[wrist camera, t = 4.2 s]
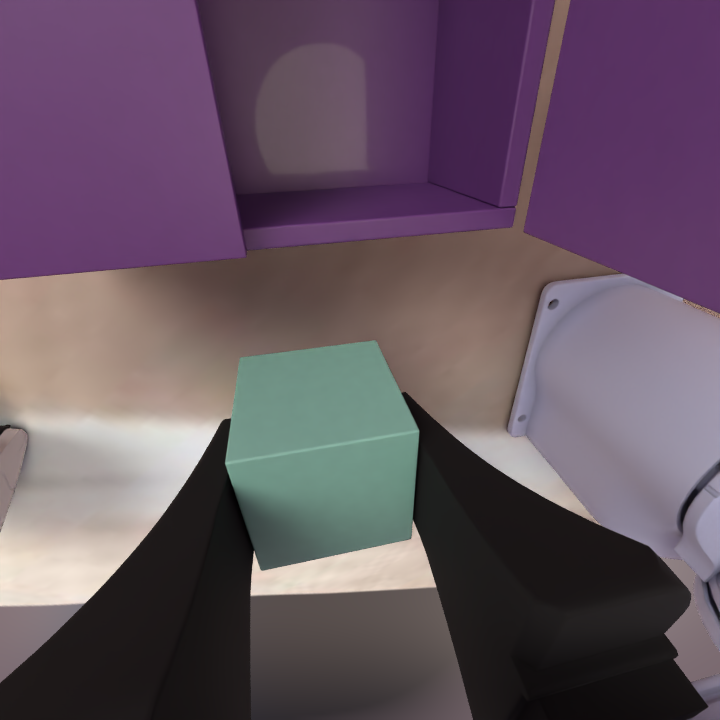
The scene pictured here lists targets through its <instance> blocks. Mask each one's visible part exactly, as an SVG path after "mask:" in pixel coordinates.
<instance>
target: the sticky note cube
mask: <svg viewBox="0 0 720 720" xmlns="http://www.w3.org/2000/svg"><path fill="white" fill-rule="evenodd" d="M418 444H419V429H418V427H417V425H416V422H415V420H414V418H413V416H412V414H411V412H410V410H409V408H408V406H407V404H406V402H405V400H404V397H403V395H402V393H401V391H400V389H399V387H398V385H397V383H396V381H395V379H394V377H393V375H392V372H391V370H390V368H389V366H388V364H387V362H386V360H385V358H384V356H383V354H382V352H381V350H380V348H379V345H378V343H377V341H376V340H373V341H365V342H357V343H350V344H342V345H334V346H326V347H318V348H311V349H303V350H295V351H287V352H279V353H271V354H264V355H256V356H248V357H241V358H240V360H239V367H238V374H237V382H236V389H235V396H234V403H233V410H232V417H231V425H230V432H229V439H228V446H227V453H226V460H225V465H226V468H227V471H228V474H229V477H230V480H231V483H232V486H233V489H234V492H235V495H236V498H237V501H238V504H239V507H240V510H241V513H242V516H243V519H244V522H245V525H246V528H247V531H248V534H249V537H250V539H251V542H252V545H253V548H254V551H255V554H256V557H257V560H258V563H259V566H260V569H261V570H262V571H263V570H268V569H273V568H277V567H282V566H287V565H291V564H296V563H301V562H306V561H310V560H315V559H320V558H324V557H329V556H334V555H338V554H343V553H348V552H353V551H357V550H362V549H367V548H371V547H376V546H381V545H385V544H390V543H395V542H399V541H404V540H409V539H411V536H412V523H413V510H414V497H415V483H416V470H417V457H418Z"/></svg>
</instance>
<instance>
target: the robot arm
mask: <svg viewBox="0 0 720 720" xmlns="http://www.w3.org/2000/svg"><path fill="white" fill-rule="evenodd" d="M552 300H553V302H552V304H550V305H549V303H550V302H551V301H552ZM682 301H683V298H681V297H679V296H676V295H674V294H671V293H669V292H667V291H664V290H662V289H659V288H657V287H655V286H652V285H650V284H647V283H645V282H642V281H640V280H638V279H635V278H633V277H630V276H628V275H626V274H615V275H606V276H597V277H588V278H580V279H571V280H562V281H554V282H551V283H549V284H547V285H546V286H545V287H544V289H543V291H542V293H541V297H540V301H539V305H538V309H537V313H536V317H535V321H534V325H533V329H532V333H531V337H530V341H529V345H528V349H527V353H526V357H525V361H524V365H523V369H522V372H521V376H520V380H519V384H518V388H517V392H516V396H515V400H514V404H513V408H512V412H511V416H510V420H509V424H508V428H507V431H508V433H509V434H510V435H511V436H512V437H520V436H525V435H526V436H527V438H528V439H529V440H530V441H531V442H532V444H533V445H534V446H535V447H536V448H537V450H538V451H539V452H540V453H541V455H542V456H543V457H544V458H545V459H546V461H547V462H548V463H549V464H550V466H551V467H552V468H553V469H554V470H555V472H556V473H557V474H558V475H559V476H560V478H561V479H562V480H563V481H564V483H565V484H566V485H567V486H568V487H569V489H570V490H571V491H572V492H573V494H574V495H575V496H576V497H577V498H578V500H579V501H580V502H581V503H582V504H583V506H584V507H585V508H586V509H587V511H588V512H589V513H590V514H591V515H592V516H593V517H594V518H595V519H596V520H597V521H598V522H599V523H600V524H601V525H602V526H600V525H598V524H596V523H594V522H592V521H589V520H587V519H585V518H583V517H581V516H579V515H577V514H575V513H573V512H571V511H569V510H567V509H565V508H563V507H561V506H559V505H557V504H555V503H553V502H551V501H549V500H548V499H546V498H544V497H542V496H540V495H539V494H537V493H535V492H533V491H532V490H530V489H528V488H526V487H525V486H523V485H521V484H520V483H518V482H516V481H515V480H513V479H511V478H510V477H508V476H507V475H505V474H504V473H502V472H501V471H499V470H498V469H496V468H495V467H493V466H492V465H490V464H489V463H487V462H486V461H485V460H483V459H482V458H480V457H479V456H478V455H476V454H475V453H474V452H473V451H471V450H470V449H469V448H467V447H466V446H465V445H464V444H462V443H461V442H460V441H459V440H457V439H456V438H455V437H454V436H453V435H452V434H450V433H449V432H448V431H447V430H446V429H445V428H443V427H442V426H441V425H440V424H439V423H438V422H437V421H436V420H434V419H433V418H432V417H431V416H430V415H429V414H428V413H427V412H426V411H425V410H424V409H423V408H422V407H421V406H420V405H419V404H418V403H416V402H415V401H414V400H413V399H412V398H411V397H410V396H409V395H408V394H407V393H406V392H403V393H402V395H403V397H404V400H405V402H406V404H407V406H408V408H409V410H410V412H411V414H412V416H413V418H414V420H415V422H416V425H417V427H418V429H419V444H418V457H417V470H416V483H415V497H414V510H413V521H414V523H415V525H416V528H417V530H418V533H419V535H420V537H421V540H422V543H423V546H424V548H425V551H426V554H427V557H428V560H429V564H430V567H431V570H432V573H433V577H434V580H435V583H436V587H437V590H438V592H439V597H440V600H441V604H442V607H443V610H444V614H445V617H446V621H447V623H448V628H449V631H450V635H451V638H452V642H453V646H454V649H455V653H456V656H457V660H458V664H459V667H460V671H461V675H462V678H463V683H464V686H465V690H466V694H467V698H468V702H469V706H470V709H471V713H472V717H473V720H720V673H719V674H716V675H713V676H710V677H706V678H703V679H700V680H696V681H693V682H690V681H689V680H688V679H687V677H686V676H685V674H684V673H683V672H682V670H681V669H680V668H679V666H678V665H677V664H676V662H675V661H674V660H673V659H674V658H676V657H677V656H678V653H677V650H676V649H675V647H674V646H673V645H672V643H671V642H670V641H669V639H668V638H667V637H666V635H665V634H664V633H665V632H666V631H667V630H668V629H669V628H670V627H671V626H672V625H673V624H674V623H675V621H677V620H678V619H679V617H680V616H681V615H682V614H683V613H684V612H685V610H686V609H687V608H688V607H689V604H690V600H691V593H690V591H689V590H688V588H687V587H686V586H685V585H684V584H683V583H682V582H681V580H680V579H679V578H678V577H677V576H676V575H675V574H674V572H673V571H672V570H671V569H670V568H669V567H668V566H667V565H666V563H665V562H664V561H663V560H662V559H661V558H660V557H663V558H669V559H678V560H684V561H685V562H686V563H687V564H688V565H689V567H690V568H691V569H692V570H693V571H694V572H695V573H696V576H695V579H694V583H693V595H694V599H695V603H696V607H697V610H698V613H699V615H700V617H701V620H702V622H703V625H704V626H705V628H706V630H707V632H708V633H709V635H710V637H711V639H712V641H713V642H714V644H715V645H716V647H717V648H718V650H719V651H720V318H717V317H715V316H713V315H710V314H708V313H706V312H703V311H701V310H699V309H697V308H694V307H692V306H690V305H687V304H685V303H683V302H682ZM548 305H549V306H548ZM230 425H231V419H224V420H223V421H222V422H221V424H220V426H219V427H218V429H217V431H216V433H215V435H214V437H213V438H212V440H211V442H210V444H209V446H208V447H207V449H206V451H205V452H204V454H203V456H202V458H201V459H200V461H199V462H198V464H197V465H196V467H195V469H194V470H193V472H192V473H191V475H190V477H189V478H188V480H187V481H186V483H185V484H184V486H183V487H182V489H181V490H180V491H179V493H178V494H177V496H176V497H175V499H174V500H173V501H172V503H171V504H170V506H169V507H168V509H167V510H166V511H165V513H164V514H163V515H162V517H161V518H160V519H159V521H158V522H157V523H156V525H155V526H154V527H153V528H152V530H151V531H150V532H149V533H148V535H147V536H146V537H145V538H144V539H143V541H142V542H141V543H140V544H139V546H138V547H137V548H136V549H135V550H134V551H133V553H132V554H131V555H130V556H129V557H128V558H127V559H126V560H125V562H124V563H123V564H122V565H121V566H120V567H119V568H118V570H117V571H116V572H115V573H114V574H113V575H112V576H111V577H110V578H109V579H108V581H107V582H106V583H105V584H104V585H103V586H102V587H101V588H100V589H99V590H98V591H97V592H96V593H95V594H94V595H93V596H92V597H91V598H90V599H89V600H88V601H87V602H86V603H85V604H84V605H83V606H82V607H81V608H80V609H79V610H78V611H77V612H76V613H75V614H74V615H73V616H72V617H71V618H70V619H69V620H68V621H67V622H66V623H65V624H64V625H63V626H62V627H61V628H60V629H59V630H58V631H57V632H56V633H55V634H54V635H53V636H52V637H51V638H50V639H49V640H48V641H47V642H46V643H44V644H43V645H42V646H41V647H40V648H39V649H38V650H37V651H36V652H35V653H34V654H32V656H30V657H29V658H28V659H27V660H26V661H25V662H23V663H22V664H21V665H20V666H19V667H18V668H17V669H16V670H14V671H13V672H12V673H11V674H10V675H9V676H8V677H7V678H6V679H4V680H3V681H2V682H1V683H0V720H251V690H250V689H251V687H250V590H251V574H252V564H253V554H254V548H253V545H252V542H251V539H250V537H249V534H248V531H247V528H246V525H245V522H244V519H243V516H242V513H241V510H240V507H239V504H238V501H237V498H236V495H235V492H234V489H233V486H232V483H231V480H230V477H229V474H228V471H227V468H226V465H225V460H226V453H227V446H228V439H229V432H230Z"/></svg>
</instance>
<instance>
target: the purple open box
mask: <svg viewBox="0 0 720 720" xmlns="http://www.w3.org/2000/svg"><path fill="white" fill-rule="evenodd" d="M554 4H555V0H0V280H5V279H16V278H27V277H38V276H49V275H60V274H71V273H82V272H93V271H105V270H116V269H127V268H138V267H149V266H160V265H171V264H182V263H193V262H205V261H216V260H227V259H238V258H246V257H247V251H248V250H259V249H271V248H282V247H294V246H305V245H317V244H328V243H340V242H351V241H363V240H374V239H386V238H397V237H408V236H420V235H431V234H443V233H454V232H466V231H477V230H489V229H500V228H510V227H512V226H513V223H514V217H515V212H516V208H515V206H516V205H517V201H518V196H519V191H520V185H521V180H522V175H523V169H524V164H525V159H526V153H527V148H528V143H529V137H530V132H531V127H532V121H533V116H534V111H535V105H536V100H537V95H538V89H539V84H540V79H541V73H542V68H543V63H544V57H545V52H546V47H547V41H548V36H549V31H550V25H551V20H552V15H553V9H554Z"/></svg>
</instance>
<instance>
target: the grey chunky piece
mask: <svg viewBox="0 0 720 720" xmlns="http://www.w3.org/2000/svg"><path fill="white" fill-rule="evenodd" d="M10 427H11V425H5V426H0V532H1V529H2V526H3V523H4V521H5V518H6V515H7V512H8V509H9V506H10V503H11V500H12V497H13V495H14V492H15V490H14V489H15V488H16V485H17V481H18V478H19V474H20V470H21V467H22V463H23V459H24V454H25V450H26V446H27V440H28V436H27V434H26V433H25V431H24V430H22V429H10Z"/></svg>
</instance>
